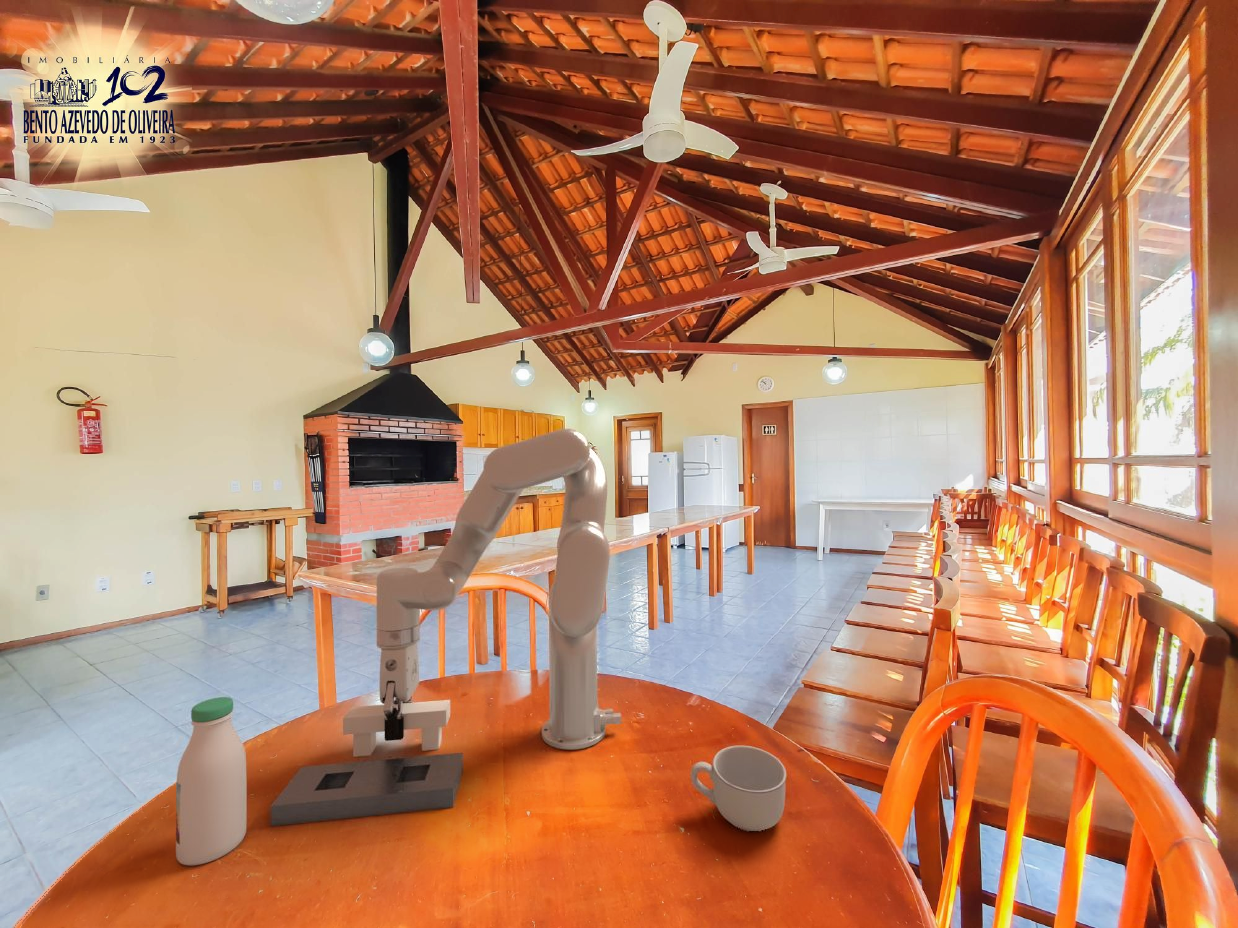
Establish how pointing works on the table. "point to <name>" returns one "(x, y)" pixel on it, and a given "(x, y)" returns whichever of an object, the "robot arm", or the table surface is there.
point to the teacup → (745, 786)
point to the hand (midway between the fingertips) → (398, 730)
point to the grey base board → (369, 789)
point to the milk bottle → (211, 786)
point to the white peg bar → (416, 716)
